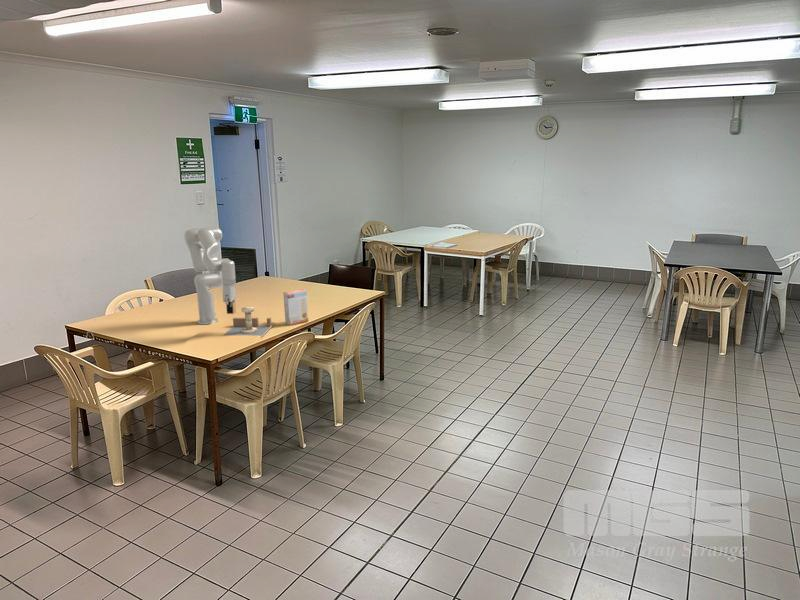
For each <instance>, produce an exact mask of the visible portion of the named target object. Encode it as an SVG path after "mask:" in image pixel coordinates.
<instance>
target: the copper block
mask: <svg viewBox="0 0 800 600" xmlns="http://www.w3.org/2000/svg"><path fill="white" fill-rule="evenodd" d="M225 309H227V307H225ZM232 309H233V313H227V312H226V314H227V315H235V314H236V313H237V309H236V300H235V301H232Z"/></svg>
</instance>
